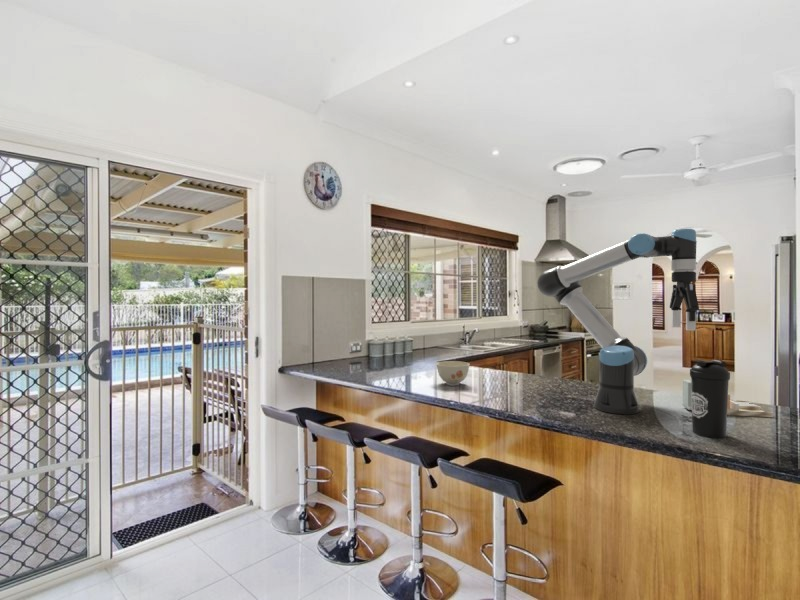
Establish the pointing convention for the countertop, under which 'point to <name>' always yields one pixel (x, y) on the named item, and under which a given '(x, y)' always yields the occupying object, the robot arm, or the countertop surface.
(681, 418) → the countertop surface
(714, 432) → the water bottle
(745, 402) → the broken strip
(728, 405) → the block
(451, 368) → the bowl
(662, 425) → the countertop surface
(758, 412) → the lane board
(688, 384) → the strip
